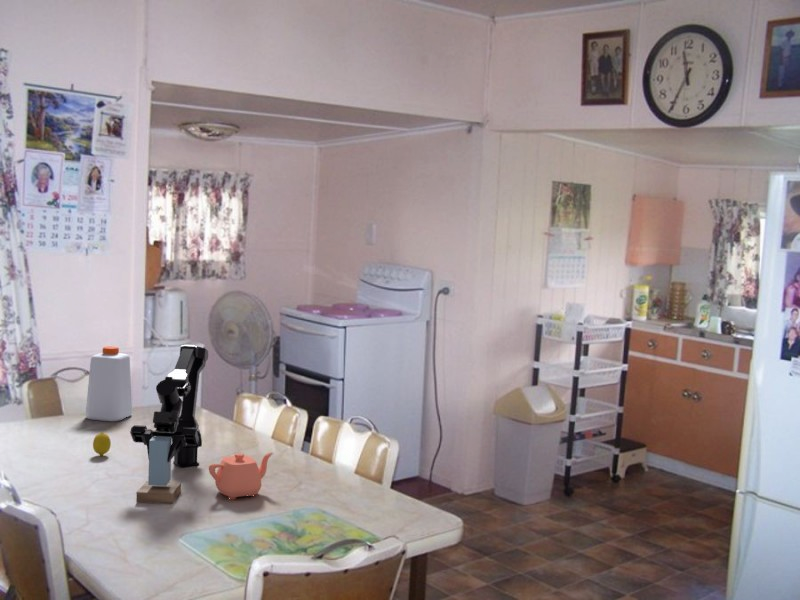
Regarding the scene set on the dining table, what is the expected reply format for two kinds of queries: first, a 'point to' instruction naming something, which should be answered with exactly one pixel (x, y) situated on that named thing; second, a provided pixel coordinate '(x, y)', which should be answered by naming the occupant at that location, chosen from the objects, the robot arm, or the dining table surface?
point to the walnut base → (158, 493)
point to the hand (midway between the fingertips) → (158, 461)
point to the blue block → (159, 461)
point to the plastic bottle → (109, 386)
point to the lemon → (101, 443)
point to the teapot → (239, 475)
